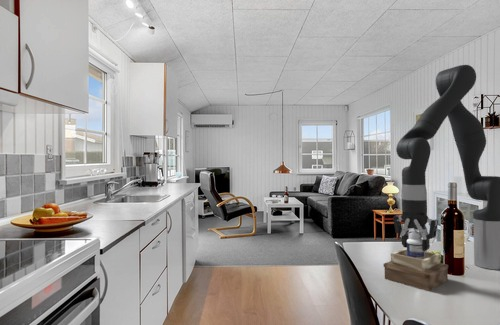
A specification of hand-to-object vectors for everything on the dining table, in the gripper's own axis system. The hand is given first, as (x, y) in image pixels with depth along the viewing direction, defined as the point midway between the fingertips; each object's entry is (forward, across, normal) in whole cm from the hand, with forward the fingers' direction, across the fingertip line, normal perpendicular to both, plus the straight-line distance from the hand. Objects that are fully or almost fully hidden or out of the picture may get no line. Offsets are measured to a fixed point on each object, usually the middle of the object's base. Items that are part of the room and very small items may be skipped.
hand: (415, 248), depth 106 cm
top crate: (+5, 0, 0) cm, 5 cm away
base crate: (+10, 0, 0) cm, 10 cm away
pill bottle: (+5, 0, 0) cm, 5 cm away
